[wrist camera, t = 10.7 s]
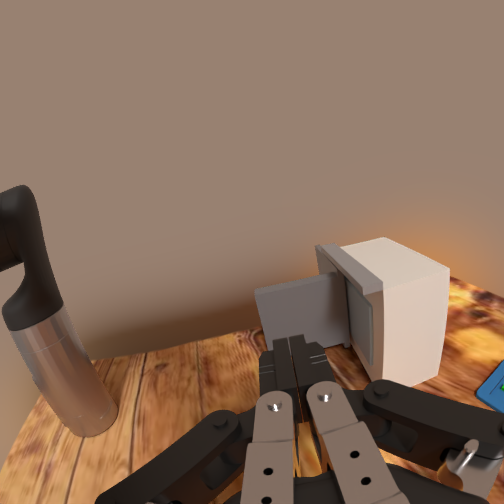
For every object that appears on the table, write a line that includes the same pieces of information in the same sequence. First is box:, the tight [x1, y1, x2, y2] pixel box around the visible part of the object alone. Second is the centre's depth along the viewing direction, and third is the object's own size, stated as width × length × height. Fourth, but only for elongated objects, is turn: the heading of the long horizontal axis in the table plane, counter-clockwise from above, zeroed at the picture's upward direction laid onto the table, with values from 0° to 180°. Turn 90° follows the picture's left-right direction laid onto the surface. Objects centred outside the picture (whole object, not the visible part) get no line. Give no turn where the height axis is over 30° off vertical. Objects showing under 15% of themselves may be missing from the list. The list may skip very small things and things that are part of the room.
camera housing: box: [321, 237, 450, 387], centre depth 32 cm, size 10×18×15 cm, turn 0°
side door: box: [255, 245, 350, 354], centre depth 41 cm, size 11×13×12 cm
